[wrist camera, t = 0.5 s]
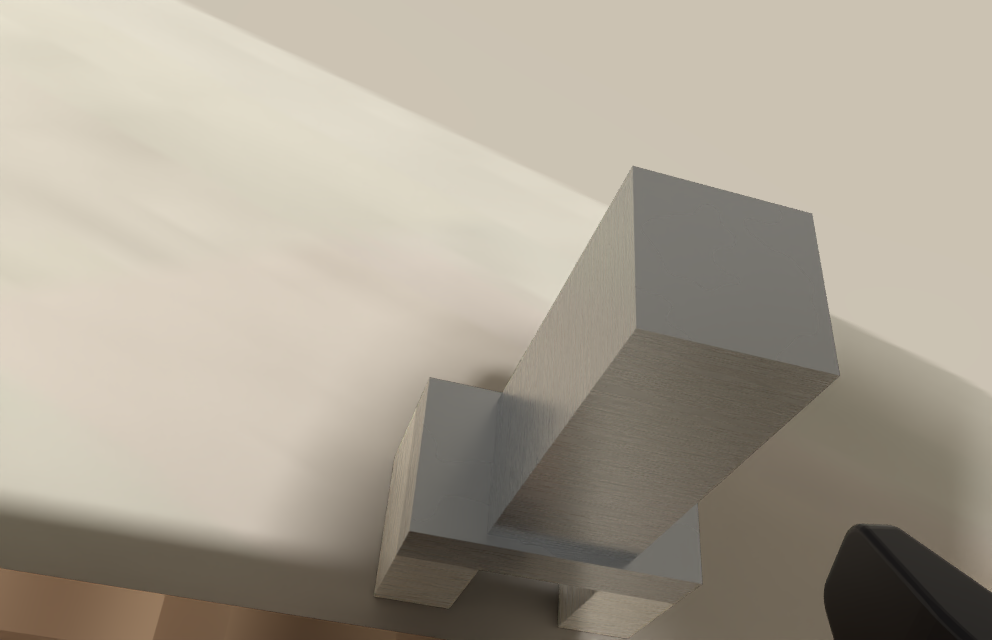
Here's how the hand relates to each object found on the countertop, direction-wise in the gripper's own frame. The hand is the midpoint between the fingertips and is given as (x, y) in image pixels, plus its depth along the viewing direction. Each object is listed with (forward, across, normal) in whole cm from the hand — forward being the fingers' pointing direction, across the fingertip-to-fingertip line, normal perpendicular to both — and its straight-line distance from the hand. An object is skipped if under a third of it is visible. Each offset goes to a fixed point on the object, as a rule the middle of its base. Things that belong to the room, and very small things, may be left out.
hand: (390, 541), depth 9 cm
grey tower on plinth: (+13, -4, +12) cm, 18 cm away
